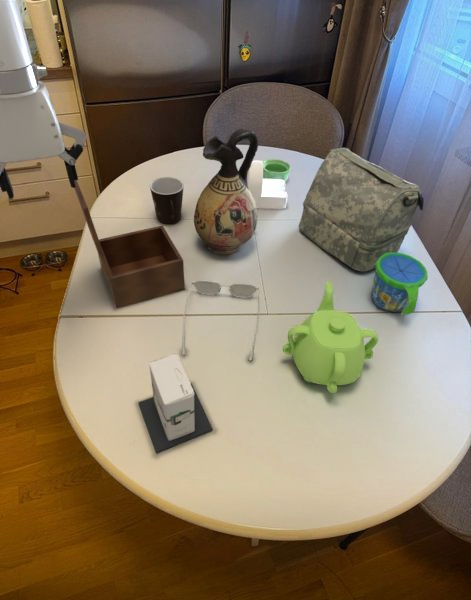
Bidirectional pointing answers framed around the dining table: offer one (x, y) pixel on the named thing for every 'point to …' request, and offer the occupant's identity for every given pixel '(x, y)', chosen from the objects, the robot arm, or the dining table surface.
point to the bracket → (266, 188)
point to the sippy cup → (398, 282)
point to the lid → (91, 228)
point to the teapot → (330, 345)
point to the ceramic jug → (227, 196)
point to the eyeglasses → (214, 287)
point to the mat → (158, 431)
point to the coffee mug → (167, 199)
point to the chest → (142, 266)
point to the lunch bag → (358, 209)
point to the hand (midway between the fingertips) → (42, 188)
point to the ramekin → (276, 169)
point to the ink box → (173, 396)
